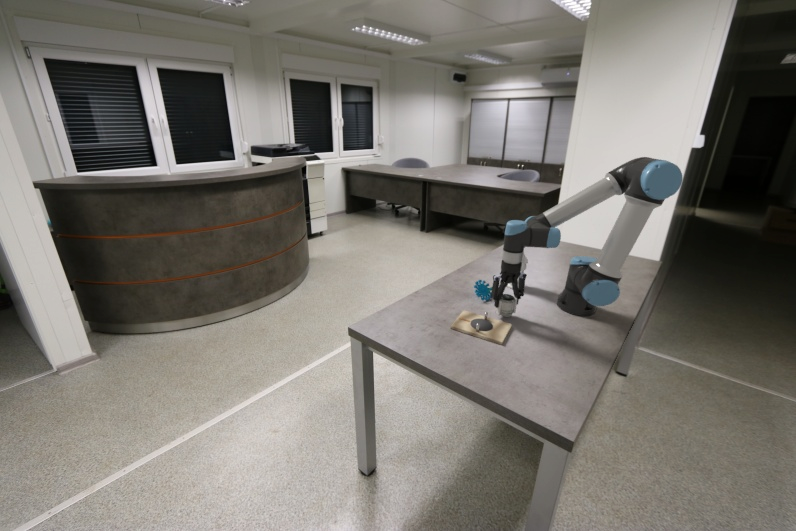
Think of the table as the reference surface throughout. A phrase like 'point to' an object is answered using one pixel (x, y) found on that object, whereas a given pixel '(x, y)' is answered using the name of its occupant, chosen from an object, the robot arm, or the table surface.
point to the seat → (482, 324)
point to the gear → (482, 290)
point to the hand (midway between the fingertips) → (505, 312)
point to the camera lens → (507, 305)
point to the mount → (493, 335)
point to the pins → (479, 324)
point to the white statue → (521, 269)
